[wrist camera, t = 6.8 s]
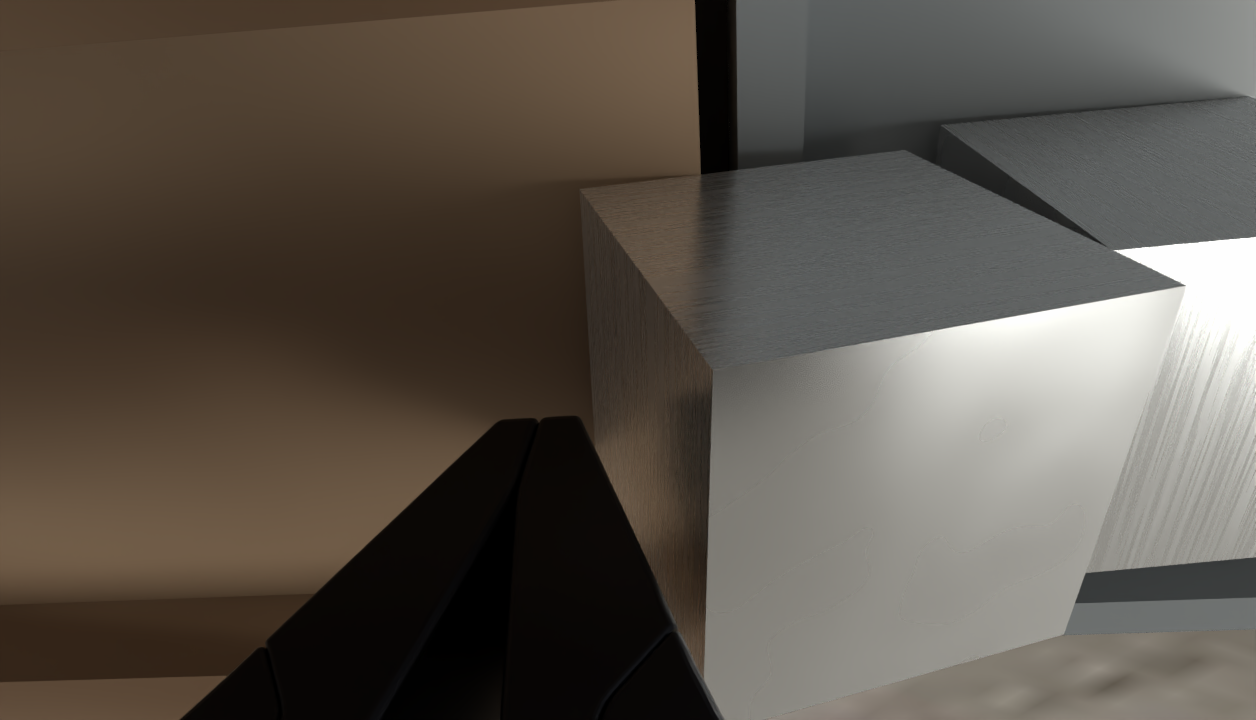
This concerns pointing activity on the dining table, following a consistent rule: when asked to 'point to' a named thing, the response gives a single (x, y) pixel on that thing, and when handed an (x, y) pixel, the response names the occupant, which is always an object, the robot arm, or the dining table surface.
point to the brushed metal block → (859, 414)
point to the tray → (981, 91)
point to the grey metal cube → (1206, 319)
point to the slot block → (281, 296)
